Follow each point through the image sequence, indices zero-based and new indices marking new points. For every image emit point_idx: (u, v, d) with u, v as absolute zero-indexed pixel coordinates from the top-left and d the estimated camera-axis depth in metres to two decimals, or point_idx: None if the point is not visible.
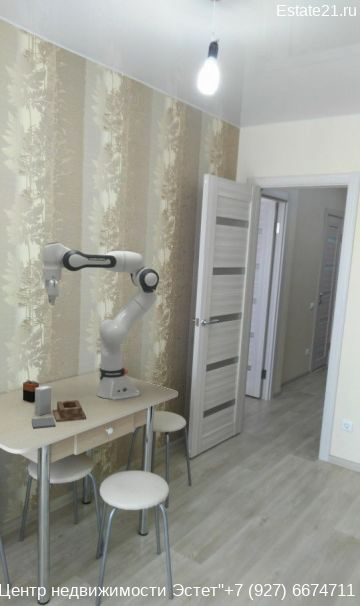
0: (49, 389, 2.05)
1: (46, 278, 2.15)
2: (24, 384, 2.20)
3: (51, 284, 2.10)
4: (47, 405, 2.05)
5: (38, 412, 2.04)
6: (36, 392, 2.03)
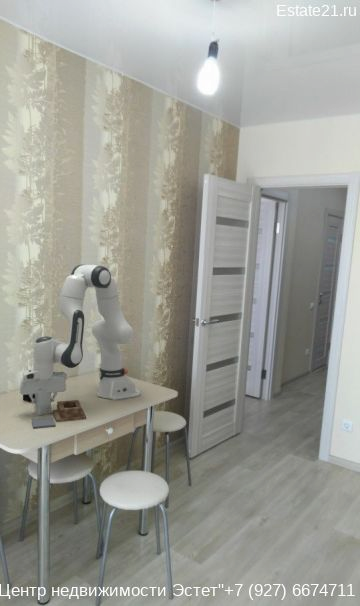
0: None
1: (51, 376, 2.03)
2: None
3: (64, 379, 2.07)
4: (47, 405, 2.05)
5: (38, 412, 2.04)
6: None
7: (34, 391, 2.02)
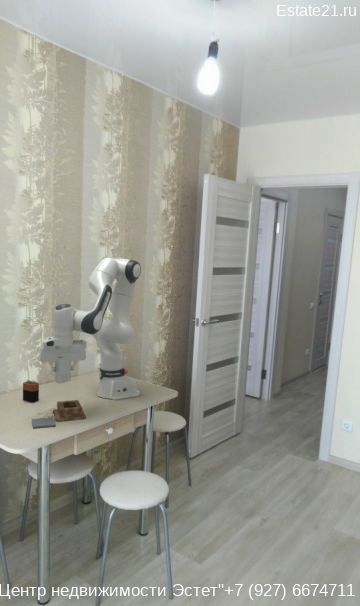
0: None
1: (71, 344, 2.00)
2: (24, 384, 2.20)
3: (84, 347, 2.04)
4: (67, 373, 2.03)
5: (58, 380, 2.01)
6: None
7: (54, 359, 2.00)
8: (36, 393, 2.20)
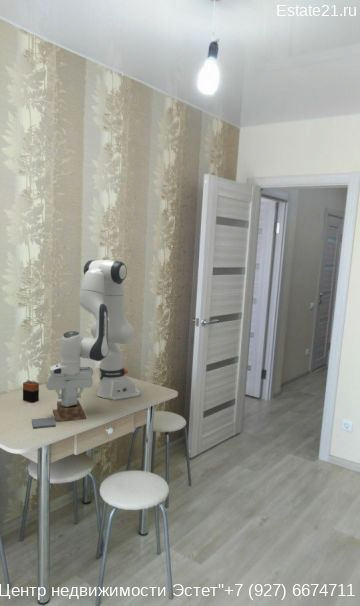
0: None
1: (78, 371, 2.01)
2: (24, 384, 2.20)
3: (91, 375, 2.05)
4: (74, 396, 2.03)
5: (65, 404, 2.02)
6: None
7: (61, 386, 2.00)
8: (36, 393, 2.20)
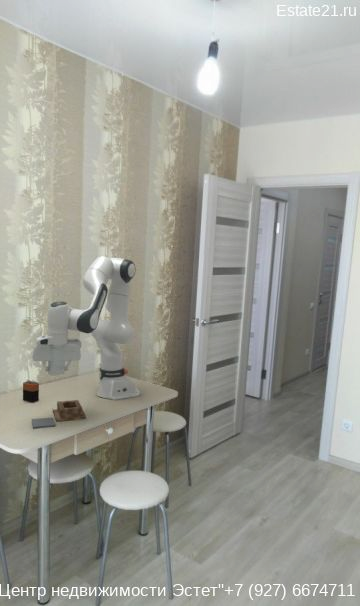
0: None
1: (65, 343, 1.94)
2: (24, 384, 2.20)
3: (79, 347, 1.98)
4: (61, 365, 1.95)
5: (51, 372, 1.94)
6: None
7: (47, 358, 1.93)
8: (36, 393, 2.20)
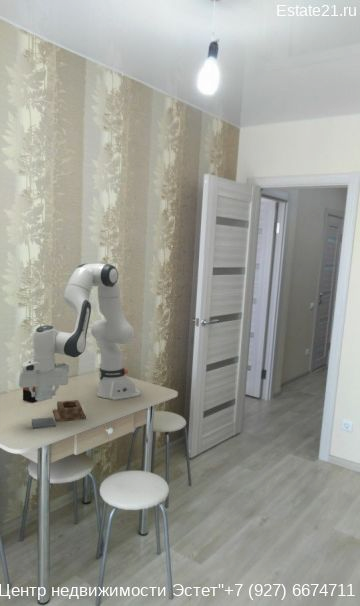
0: None
1: (52, 368, 1.90)
2: None
3: (66, 371, 1.94)
4: (48, 390, 1.92)
5: (38, 398, 1.90)
6: None
7: (34, 384, 1.89)
8: None
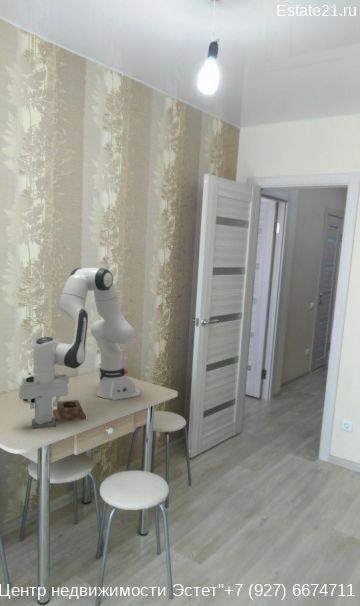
0: None
1: (52, 379, 1.90)
2: None
3: (66, 382, 1.94)
4: (47, 413, 1.93)
5: (38, 421, 1.91)
6: (36, 400, 1.91)
7: (34, 395, 1.89)
8: None
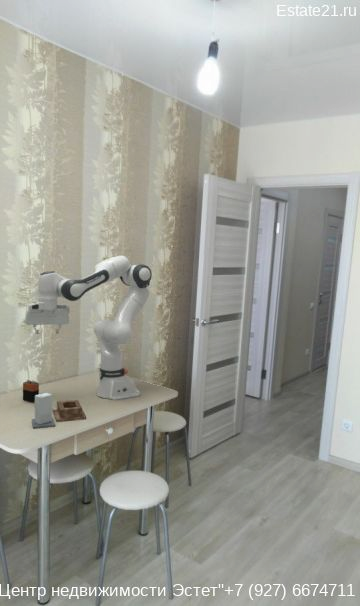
0: (50, 396, 1.93)
1: (55, 308, 2.15)
2: (24, 384, 2.20)
3: (67, 312, 2.19)
4: (47, 413, 1.93)
5: (38, 421, 1.91)
6: (36, 400, 1.91)
7: (39, 322, 2.14)
8: (36, 393, 2.20)
